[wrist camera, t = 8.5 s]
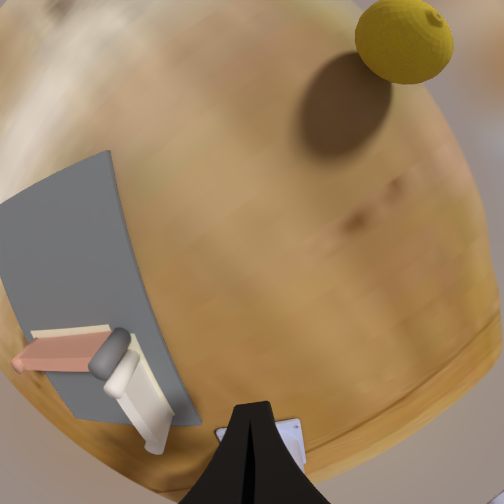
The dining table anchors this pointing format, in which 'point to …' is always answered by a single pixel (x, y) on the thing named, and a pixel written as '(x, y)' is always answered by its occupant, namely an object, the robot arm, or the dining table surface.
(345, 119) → the dining table surface
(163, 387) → the mat
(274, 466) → the robot arm
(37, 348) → the pink rounded-end bar
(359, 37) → the lemon
